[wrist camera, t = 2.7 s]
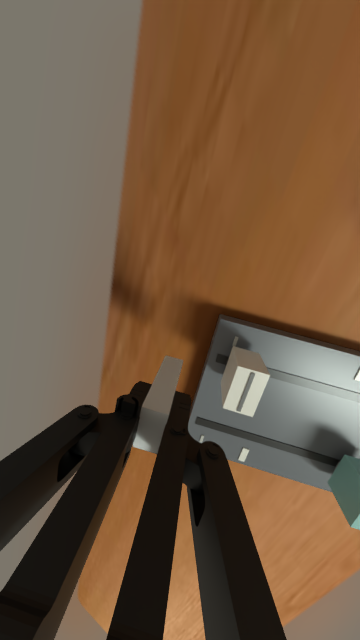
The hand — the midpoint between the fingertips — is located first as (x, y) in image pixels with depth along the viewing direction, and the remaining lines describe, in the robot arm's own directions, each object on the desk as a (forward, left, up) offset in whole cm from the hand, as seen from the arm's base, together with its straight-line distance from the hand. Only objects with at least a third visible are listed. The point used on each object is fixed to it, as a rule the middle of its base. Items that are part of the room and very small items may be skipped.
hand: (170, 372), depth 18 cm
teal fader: (+8, +20, -4) cm, 22 cm away
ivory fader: (0, +6, -4) cm, 8 cm away
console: (+4, +14, -7) cm, 16 cm away
